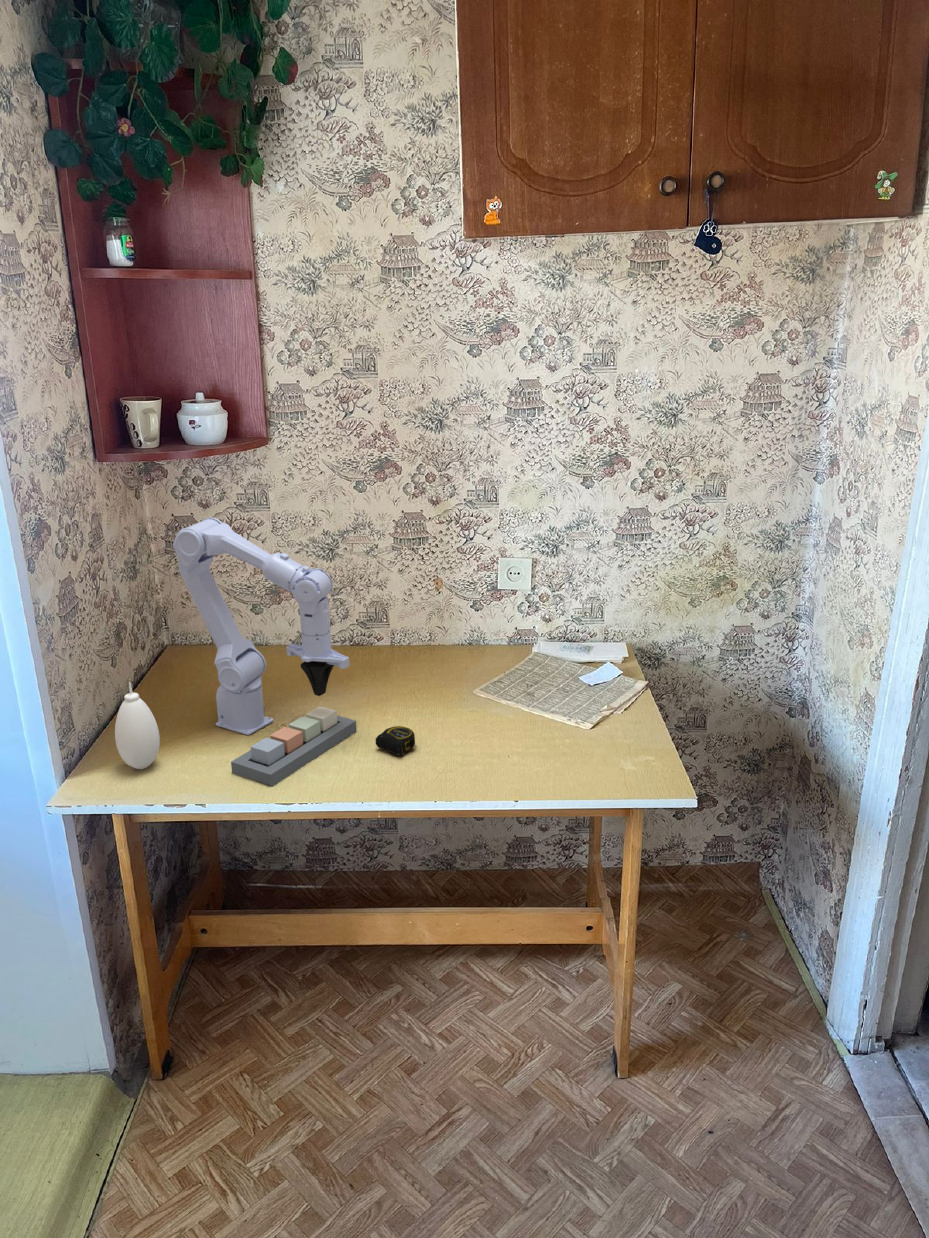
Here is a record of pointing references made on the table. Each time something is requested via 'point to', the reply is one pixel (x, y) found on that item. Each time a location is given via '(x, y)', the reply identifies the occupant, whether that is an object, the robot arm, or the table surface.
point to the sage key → (306, 727)
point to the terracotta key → (288, 738)
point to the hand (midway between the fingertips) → (320, 693)
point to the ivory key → (324, 717)
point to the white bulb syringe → (136, 732)
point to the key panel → (293, 755)
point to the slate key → (267, 751)
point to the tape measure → (396, 740)
